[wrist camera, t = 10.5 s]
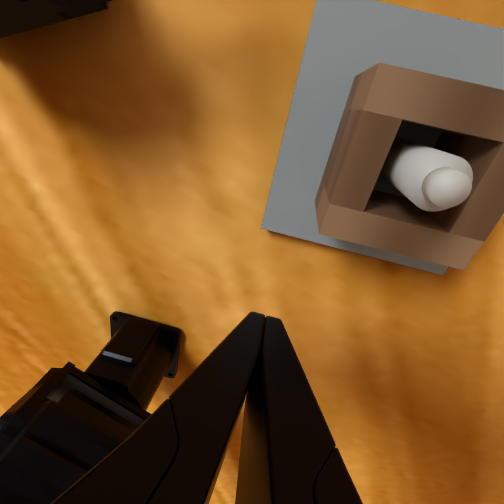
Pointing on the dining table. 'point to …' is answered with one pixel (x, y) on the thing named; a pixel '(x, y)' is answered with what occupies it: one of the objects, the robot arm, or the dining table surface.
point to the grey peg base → (408, 136)
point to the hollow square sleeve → (450, 141)
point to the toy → (42, 13)
